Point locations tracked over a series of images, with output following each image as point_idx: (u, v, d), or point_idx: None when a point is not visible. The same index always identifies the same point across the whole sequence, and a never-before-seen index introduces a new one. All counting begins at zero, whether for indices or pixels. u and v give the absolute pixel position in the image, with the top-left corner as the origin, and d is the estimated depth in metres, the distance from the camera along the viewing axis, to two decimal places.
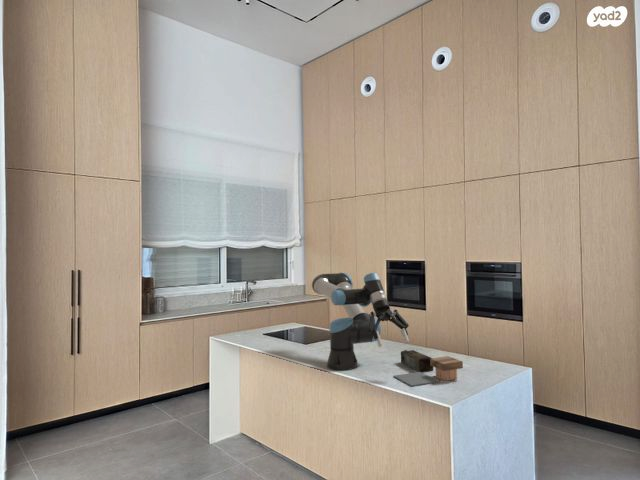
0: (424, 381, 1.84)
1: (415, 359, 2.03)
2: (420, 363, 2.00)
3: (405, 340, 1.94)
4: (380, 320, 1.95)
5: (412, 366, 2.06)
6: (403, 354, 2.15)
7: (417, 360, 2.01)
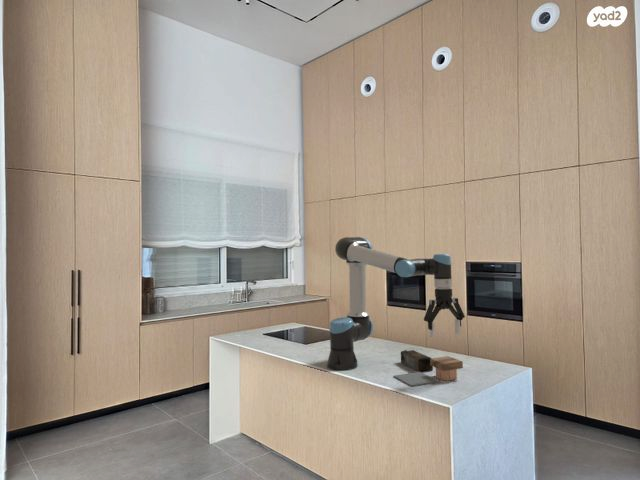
0: (424, 381, 1.84)
1: (414, 359, 2.03)
2: (419, 363, 2.00)
3: (456, 331, 1.93)
4: (439, 310, 1.89)
5: (412, 366, 2.06)
6: (403, 354, 2.15)
7: (416, 360, 2.01)
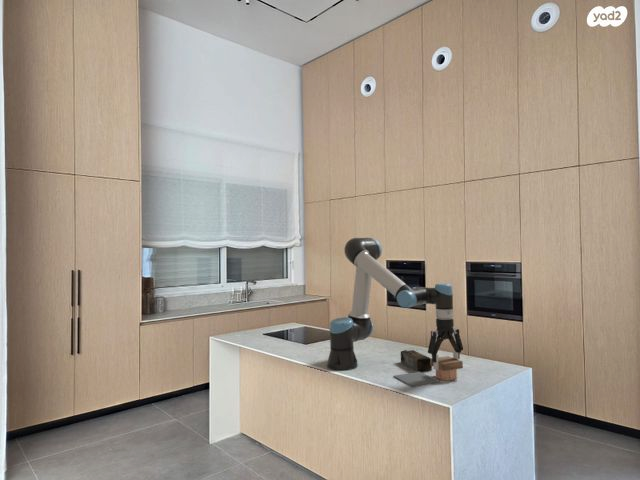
0: (424, 381, 1.84)
1: (413, 359, 2.03)
2: (418, 363, 2.00)
3: None
4: (441, 341, 1.89)
5: (411, 366, 2.06)
6: (403, 354, 2.15)
7: (415, 360, 2.01)
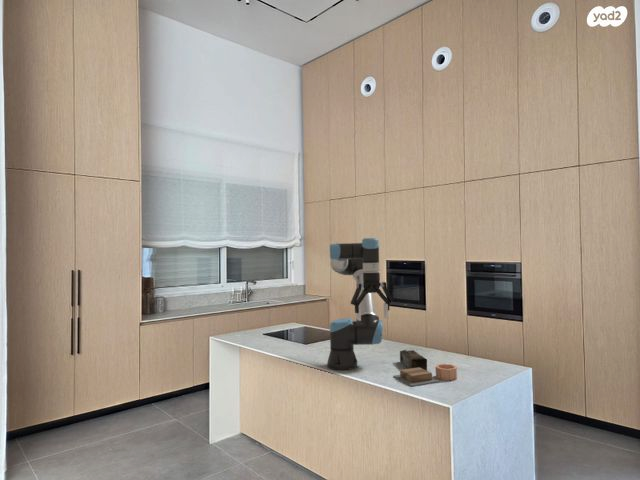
0: (424, 381, 1.84)
1: (409, 359, 2.03)
2: (412, 363, 2.00)
3: (384, 315, 1.94)
4: (366, 294, 1.90)
5: (407, 366, 2.06)
6: (401, 354, 2.16)
7: (410, 360, 2.01)
